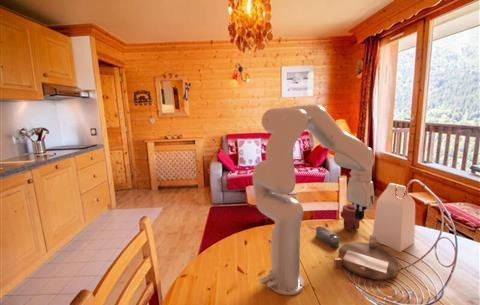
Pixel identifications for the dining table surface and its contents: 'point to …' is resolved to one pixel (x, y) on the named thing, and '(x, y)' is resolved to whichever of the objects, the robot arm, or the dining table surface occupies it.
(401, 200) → the milk
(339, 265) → the wheel stand
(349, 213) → the mechanical component
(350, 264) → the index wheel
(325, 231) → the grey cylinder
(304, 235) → the dining table surface
